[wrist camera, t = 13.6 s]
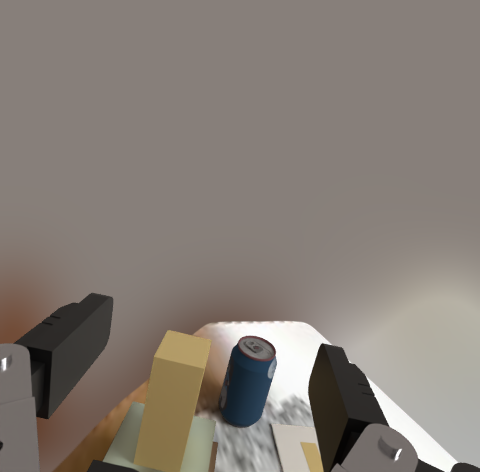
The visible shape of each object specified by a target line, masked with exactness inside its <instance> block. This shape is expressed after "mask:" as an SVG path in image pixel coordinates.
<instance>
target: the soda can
mask: <svg viewBox="0 0 480 472" xmlns="http://www.w3.org/2000/svg"><path fill="white" fill-rule="evenodd" d="M275 355H276V350H275V348H274V346H273V345H272V344H271V343H270V342H268V341H267V340H265V339H263V338H260V337H256V336H245V337H242V338H241V339H240V340H239V341H238V344H237V345H236V346H235V347H234V348H233V349H232V352H231V356H230V360H229V364H228V368H227V372H226V375H225V379H224V383H223V387H222V391H221V394H220V398H219V407H220V410H221V413H222V415H223V417H224V419H225V420H226V421H227V422H228V423H230V424H231V425H233V426H236V427H240V428H245V427H249V426H251V425H253V424H254V423H256V422H257V421H258V420H259V419H260V418H261V415H262V412H263V409H264V406H265V402H266V399H267V396H268V392H269V389H270V386H271V382H272V379H273V376H274V372H275V369H276V365H277V361H276V356H275Z"/></svg>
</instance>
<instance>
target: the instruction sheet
mask: <svg viewBox="0 0 480 472" xmlns="http://www.w3.org/2000/svg"><path fill="white" fill-rule="evenodd" d="M271 427H272V431H273V435H274V439H275V443H276V447H277V451H278V455H279V459H280V463H281V466H282V470H283V472H324V471H323V466H322V461H321V456H320V451H319V446H318V441H317V436H316V431H315V428H314V427H303V426H292V425H282V424H271Z"/></svg>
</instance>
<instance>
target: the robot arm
mask: <svg viewBox="0 0 480 472" xmlns="http://www.w3.org/2000/svg"><path fill="white" fill-rule="evenodd" d="M112 310H113V298H112V297H110V296H105V295H101V294H95V293H91V294H89V295H88V296H87V297H86V298H85V299H83V300H82V301H81V302H80V303H71V304H68V305H66V306H64V307H61V308H59V309H58V310H56V311H55V312H54V313H52V314H51V315H50V317H47V318H46V319H45V320H43V321H42V323H40V324H38V325H37V326H36V327H34V328H33V329H32V330H30V331H29V332H28V333H26V334H25V335H24V336H23V337H21V338H20V339H19V340H17V341H16V342H15V343H13V344H0V472H40V465H39V452H38V437H37V423H36V417H40V418H44V419H49V418H50V416H51V415H52V414H53V413H54V411H55V410H56V409H57V408H58V406H59V405H60V404H61V403H62V401H63V400H64V399H65V398H66V396H67V395H68V394H69V393H70V391H71V390H72V389H73V387H74V386H75V385H76V384H77V383H78V381H79V380H80V379H81V378H82V376H83V375H84V374H85V373H86V371H87V370H88V369H89V368H90V366H91V365H92V364H93V363H94V361H95V360H96V359H97V358H98V356H99V355H100V354H101V352H102V351H103V350H104V348H105V346H106V344H107V342H108V339H109V335H110V327H111V318H112ZM308 395H309V400H310V405H311V410H312V415H313V421H314V426H315V431H316V436H317V441H318V446H319V451H320V456H321V461H322V466H323V471H324V472H444V471H442V470H440V469H438V468H436V467H434V466H431V465H429V464H427V463H425V462H423V461H421V460H420V459H418V456H417V453H416V451H415V449H414V447H413V446H412V444H411V443H410V442H409V441H408V440H407V439H406V438H405V437H404V436H403V435H402V434H400V433H399V432H397V431H396V430H394V429H392V428H390V427H389V425H388V423H387V420H386V418H385V416H384V414H383V412H382V410H381V408H380V406H379V403H378V401H377V399H376V397H374V393H373V391H372V389H371V388H370V384H369V382H368V380H367V378H366V376H365V374H364V373H363V372H362V371H361V370H360V369H359V368H358V367H357V366H356V365H355V364H351V363H349V361H348V359H347V357H346V355H345V352H344V350H343V348H342V347H337V346H332V345H328V344H323V343H322V344H321V345H320V347H319V350H318V353H317V356H316V360H315V363H314V366H313V369H312V373H311V376H310V380H309V387H308ZM87 472H139V471H137V470H135V469H133V468H129V467H125V466H120V465H116V464H111V463H107V462H102V461H98V460H93V462H92V463H91V465H90V467H89V469H88V471H87ZM451 472H480V468H478V467H476V466H473V465H470V464H467V463H457V464H455V465H454V466H453V467H452V470H451Z"/></svg>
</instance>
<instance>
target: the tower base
mask: <svg viewBox="0 0 480 472" xmlns="http://www.w3.org/2000/svg"><path fill="white" fill-rule="evenodd" d="M144 406H145V404H141V403H137V402H133V403H132V405H131V407H130V408H129V410H128V412H127V414H126V416H125V418H124V420H123V422H122V424H121V426H120V428H119V430H118V432H117V434H116V436H115V438H114V440H113V442H112V444H111V446H110V448H109V449H108V451H107V453H106V455H105V457H104V459H103V461H102V462H107V463H111V464H116V465H120V466H125V467H129V468H133V469H135V470H137V471H139V472H165V471H161V470H156V469H152V468H148V467H144V466H140V465H135V464H133V463H134V458H135V453H136V448H137V443H138V437H139V432H140V427H141V422H142V417H143V411H144ZM215 424H216V421H213V420H209V419H205V418H201V417H196V416H193V421H192V425H191V429H190V433H189V437H188V441H187V445H186V449H185V454H184V458H183V462H182V466H181V470H180V472H214V469H215V461H216V454H217V447H218V443H217V442H213V437H214V431H215Z"/></svg>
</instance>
